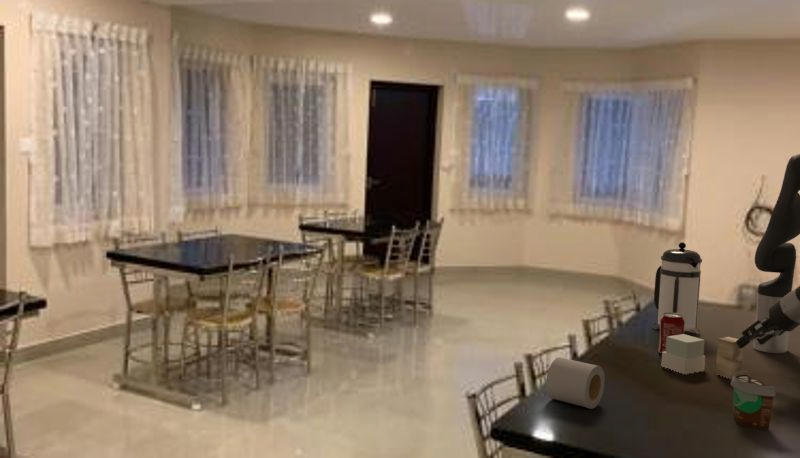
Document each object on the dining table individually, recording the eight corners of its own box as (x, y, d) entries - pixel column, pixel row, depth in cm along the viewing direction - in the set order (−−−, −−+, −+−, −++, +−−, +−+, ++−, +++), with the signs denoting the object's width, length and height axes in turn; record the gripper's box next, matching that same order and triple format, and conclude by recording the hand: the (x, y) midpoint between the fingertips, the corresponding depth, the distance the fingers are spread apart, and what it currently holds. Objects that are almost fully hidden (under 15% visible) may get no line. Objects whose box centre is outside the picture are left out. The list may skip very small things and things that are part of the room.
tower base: (680, 364, 224) (681, 348, 223) (704, 371, 217) (705, 355, 217) (661, 367, 220) (662, 351, 219) (684, 375, 213) (685, 359, 213)
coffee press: (705, 330, 265) (711, 241, 262) (694, 339, 252) (701, 246, 248) (652, 322, 275) (658, 237, 271) (640, 331, 261) (645, 241, 258)
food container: (717, 412, 183) (721, 370, 182) (743, 412, 184) (746, 370, 183) (745, 432, 171) (749, 387, 170) (772, 431, 172) (776, 387, 170)
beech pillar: (726, 372, 216) (728, 336, 215) (740, 376, 212) (743, 340, 211) (715, 374, 214) (718, 338, 213) (729, 379, 210) (732, 342, 209)
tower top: (682, 349, 223) (683, 334, 222) (703, 355, 217) (704, 339, 216) (665, 352, 219) (666, 336, 218) (686, 358, 213) (687, 342, 212)
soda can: (683, 358, 229) (686, 317, 228) (659, 356, 231) (662, 316, 229) (680, 352, 236) (683, 312, 235) (656, 350, 237) (659, 311, 236)
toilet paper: (544, 403, 186) (547, 361, 185) (565, 393, 194) (567, 353, 193) (583, 413, 180) (586, 370, 179) (603, 403, 188) (605, 362, 187)
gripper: (801, 294, 202) (757, 328, 213) (767, 299, 195) (723, 334, 206) (819, 319, 198) (773, 352, 209) (785, 324, 191) (739, 359, 202)
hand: (748, 343), depth 208 cm, fingers open, 8 cm apart
